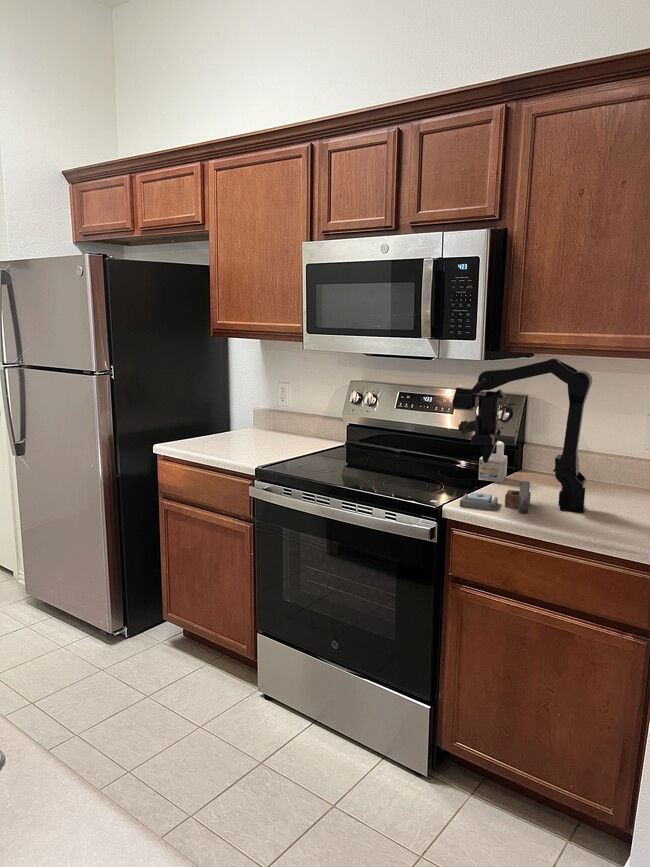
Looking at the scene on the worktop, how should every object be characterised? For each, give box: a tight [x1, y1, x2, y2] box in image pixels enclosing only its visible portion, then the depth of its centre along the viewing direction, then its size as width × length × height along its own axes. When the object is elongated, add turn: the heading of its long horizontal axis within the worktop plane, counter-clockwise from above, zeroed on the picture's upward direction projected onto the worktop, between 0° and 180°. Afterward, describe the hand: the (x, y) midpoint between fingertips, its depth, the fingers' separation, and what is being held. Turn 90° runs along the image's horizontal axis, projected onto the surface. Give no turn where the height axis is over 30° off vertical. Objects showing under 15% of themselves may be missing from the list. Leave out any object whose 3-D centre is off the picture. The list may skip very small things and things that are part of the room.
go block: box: [504, 489, 531, 509], centre depth 194 cm, size 6×6×4 cm
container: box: [478, 440, 508, 483], centre depth 223 cm, size 8×8×13 cm
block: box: [467, 491, 493, 503], centre depth 194 cm, size 6×6×3 cm
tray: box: [459, 493, 499, 511], centre depth 194 cm, size 10×8×2 cm
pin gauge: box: [518, 480, 531, 515], centre depth 186 cm, size 3×3×9 cm
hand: (485, 462), depth 200 cm, fingers closed
